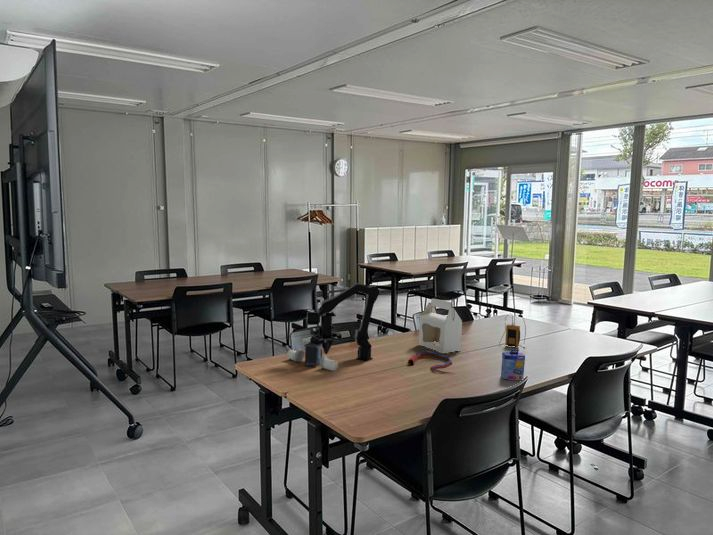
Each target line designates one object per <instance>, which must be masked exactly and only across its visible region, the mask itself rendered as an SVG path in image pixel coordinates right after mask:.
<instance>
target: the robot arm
mask: <svg viewBox="0 0 713 535" xmlns="http://www.w3.org/2000/svg"><path fill="white" fill-rule="evenodd" d="M358 292H359V293H362V294H364V295H365V305H364V309H363V313H362V319H361V321H360V326H359V328H358V329H355V334H354V336H353V337H354V341H355V342H356V344H357V345H358V346H357V347H358V349H357V357H356V360H358V361H359V360H360V361H362V362H367V361H370V360H373V359H374V358H373V357H372V344H371V343H370V341H368V340H369V331H368V330H369V325H370V322H371V317H372V314H373V310H374V309H373V308H374V306H375V305H374V304H375V303H376V301H377V300H378V297H379V295H380V289H379V287H377V285H375V284H369V285H367V284H362V283H361V284H360V283H358V282H356V283H354V284H353V285H351V286H349V287H348V288H346V289H345V290H343V291H341V292H340V293H338V294H336V295H335V296H332V297H328V298H326V299H324V300H322V302H321V303H320V307H319V308H318V309H317V311H306V325H307V326H308V325H309V326H313V325H315V326H318V325H319V324H320V326H318V328H311V329H310V335H311V336H312V337H311V338H310V339H309V340H310V341H309V342H310V343H314V344H318V345H319V344H322V350H323V353H324V354H325V355H327V354H328V353H329V351H330V350H331V347H332V346H333V343H334V342H335V340H334V339H333V338H336V339H338V340H340V339H342V338H343V335H342V333H341V332H339V331H333V329H334V325H333V317H337V315H336V313H335V312H334V311H333V310H334V309H336V308H337V306H338V305H339V304H341V303H342V302H344V301H345V300H348V299H349V298H351V297H352V296H354V295H355V294H356V293H358Z"/></svg>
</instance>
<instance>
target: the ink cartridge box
mask: <svg viewBox="0 0 713 535" xmlns="http://www.w3.org/2000/svg"><path fill="white" fill-rule="evenodd" d="M525 361H526V355H525V354H524V353H523V352H520V351H519V349H511V350H510V351H502V353H501V371H500V372H501V373H500V377H501V379H502V378H503V379H508V380H507V381H523V380H524V376H525V375H524V374H525V373H524V372H525V364H526V362H525ZM503 379H502V380H503ZM522 379H523V380H522Z"/></svg>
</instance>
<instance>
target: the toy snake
mask: <svg viewBox="0 0 713 535" xmlns="http://www.w3.org/2000/svg"><path fill="white" fill-rule="evenodd" d="M430 357H432V358H431V359H435V358H436V359H435V360H439V359H440V360H439V361H442V360H443V362H445V363H442V364H435V365H432V366H430V368H429V369H430V370H431V371H432V372H436V373H440V374H451V372H450V371H443V370H439V369H445V368H448V367H450V366H451V365H452V364H453V362H452V360H451V359H450V357H449V356H446V355H442V354H441V353H439V352H436V351H434V352H433V351H429V350H423V351H420V352H417V353H415V354H414V355H412V356H411V357H410V358H409V359H408V361H407V364H408V365H411V363H412V362H413V364H415V363H416V362H417V361H418V360H421V359H424V358H430ZM412 360H413V361H412ZM453 374H454V375H455V374H456V373H454V372H452V375H453Z"/></svg>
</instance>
